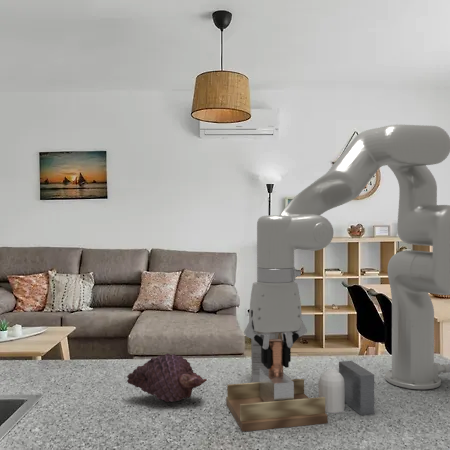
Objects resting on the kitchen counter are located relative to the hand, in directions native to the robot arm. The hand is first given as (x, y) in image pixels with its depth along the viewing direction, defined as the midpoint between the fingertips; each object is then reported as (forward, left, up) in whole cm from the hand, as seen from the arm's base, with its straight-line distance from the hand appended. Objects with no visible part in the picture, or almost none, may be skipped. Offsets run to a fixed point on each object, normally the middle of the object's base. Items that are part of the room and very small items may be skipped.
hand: (275, 365), depth 101 cm
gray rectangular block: (-18, 0, -10) cm, 20 cm away
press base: (0, 0, -10) cm, 10 cm away
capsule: (-12, 0, -10) cm, 16 cm away
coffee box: (-4, -20, -10) cm, 23 cm away
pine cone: (+21, -12, -10) cm, 26 cm away
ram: (0, 0, -8) cm, 8 cm away
